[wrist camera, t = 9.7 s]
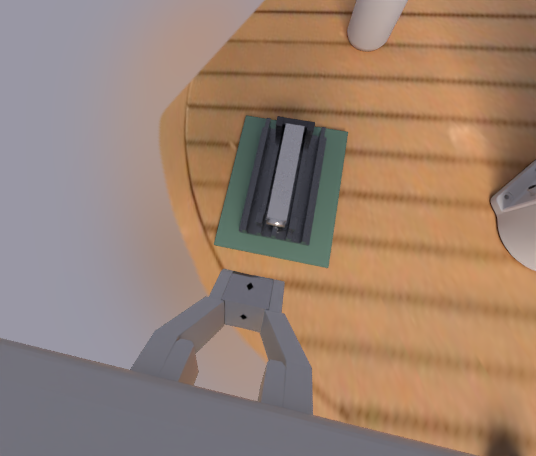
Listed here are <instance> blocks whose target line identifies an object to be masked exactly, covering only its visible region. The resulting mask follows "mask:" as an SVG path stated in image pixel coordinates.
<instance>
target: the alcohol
mask: <svg viewBox="0 0 536 456" xmlns="http://www.w3.org/2000/svg"><path fill="white" fill-rule="evenodd" d="M407 1H408V0H357V1H356V4H355V7H354V10H353V13H352V16H351V19H350V23H349V26H348V30H347V33H348V39H349V42H350V43H351V45H352V46H353V47H355V48H356V49H358V50H361V51H374V50H376V49H378V48H380V47H381V46H382V45H384V44H385V43H386V41H387V40H388V38H389V36H390V34H391V32H392V30H393V28H394V26H395V24H396V22H397V21H398V19H399V17H400V15H401V13H402V11H403V9H404V7H405V5H406V3H407Z"/></svg>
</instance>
